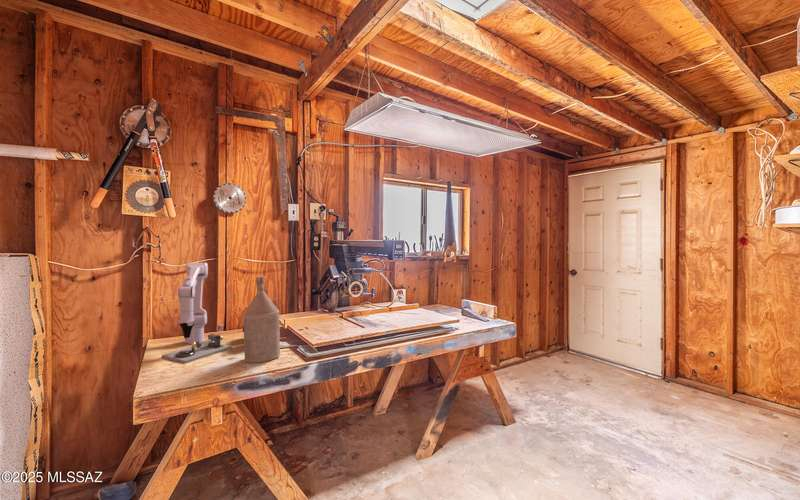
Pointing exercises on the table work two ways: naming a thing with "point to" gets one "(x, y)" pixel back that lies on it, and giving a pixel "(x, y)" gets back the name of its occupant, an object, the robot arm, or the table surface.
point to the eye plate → (216, 341)
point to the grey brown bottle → (261, 327)
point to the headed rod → (206, 342)
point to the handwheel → (186, 352)
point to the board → (196, 353)
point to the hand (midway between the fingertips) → (186, 337)
